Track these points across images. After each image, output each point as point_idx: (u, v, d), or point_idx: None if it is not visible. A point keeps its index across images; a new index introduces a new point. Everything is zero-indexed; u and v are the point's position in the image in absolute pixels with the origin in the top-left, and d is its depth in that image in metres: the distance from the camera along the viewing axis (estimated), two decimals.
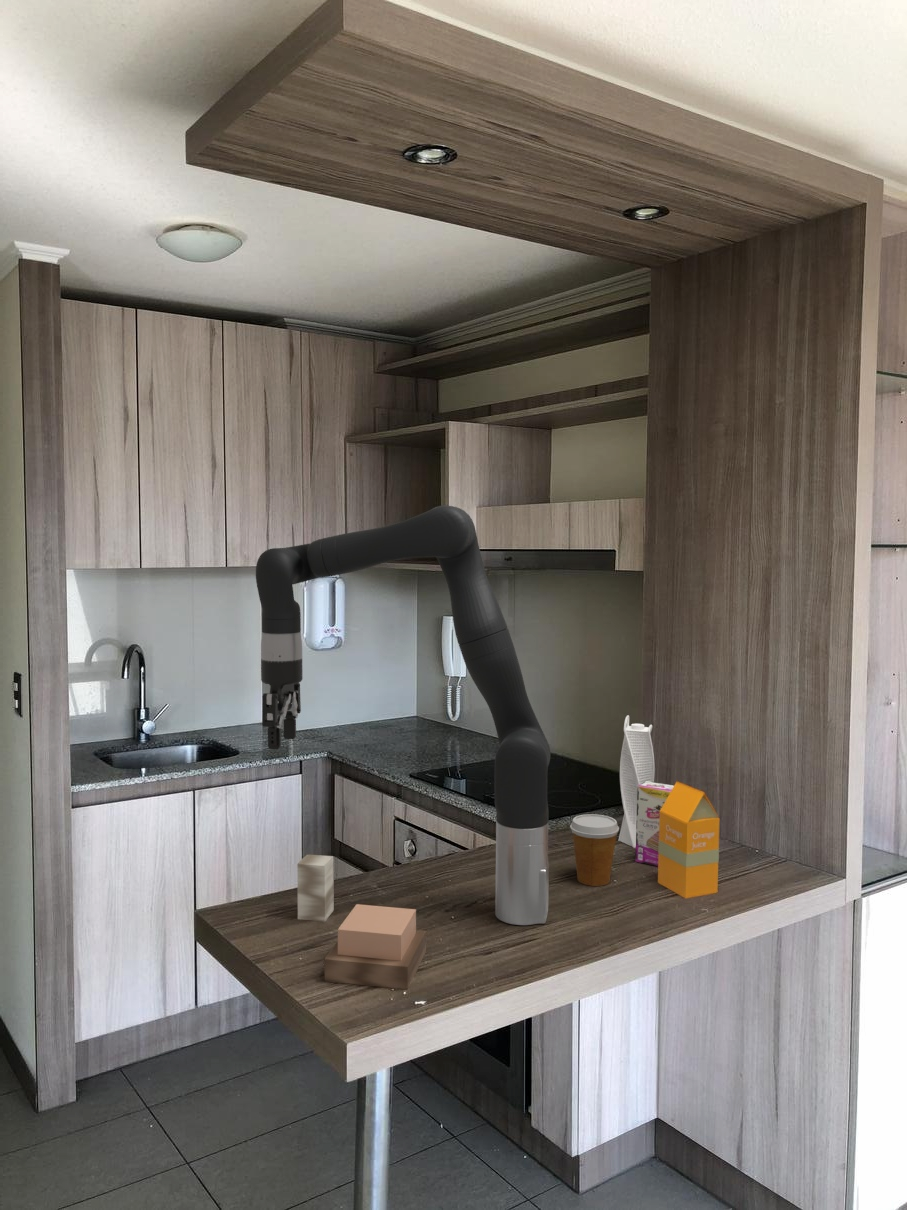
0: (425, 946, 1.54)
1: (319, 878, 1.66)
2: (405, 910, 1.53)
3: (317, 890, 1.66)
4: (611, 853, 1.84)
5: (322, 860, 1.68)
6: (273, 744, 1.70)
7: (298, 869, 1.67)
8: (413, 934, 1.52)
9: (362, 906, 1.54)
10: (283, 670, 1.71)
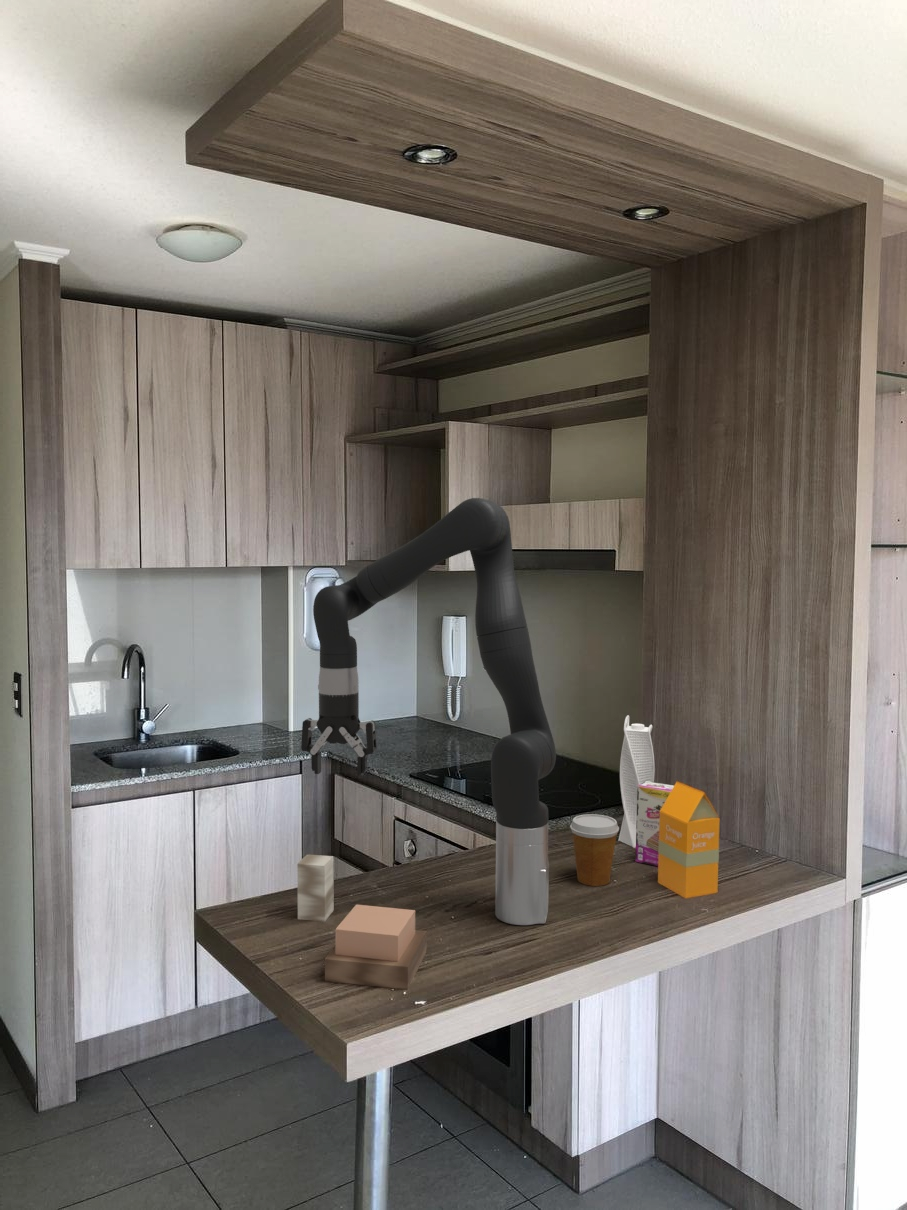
0: (425, 946, 1.54)
1: (319, 878, 1.66)
2: (404, 910, 1.53)
3: (317, 890, 1.66)
4: (611, 853, 1.84)
5: (322, 860, 1.68)
6: (365, 770, 1.80)
7: (298, 869, 1.67)
8: (412, 935, 1.52)
9: (362, 906, 1.54)
10: None
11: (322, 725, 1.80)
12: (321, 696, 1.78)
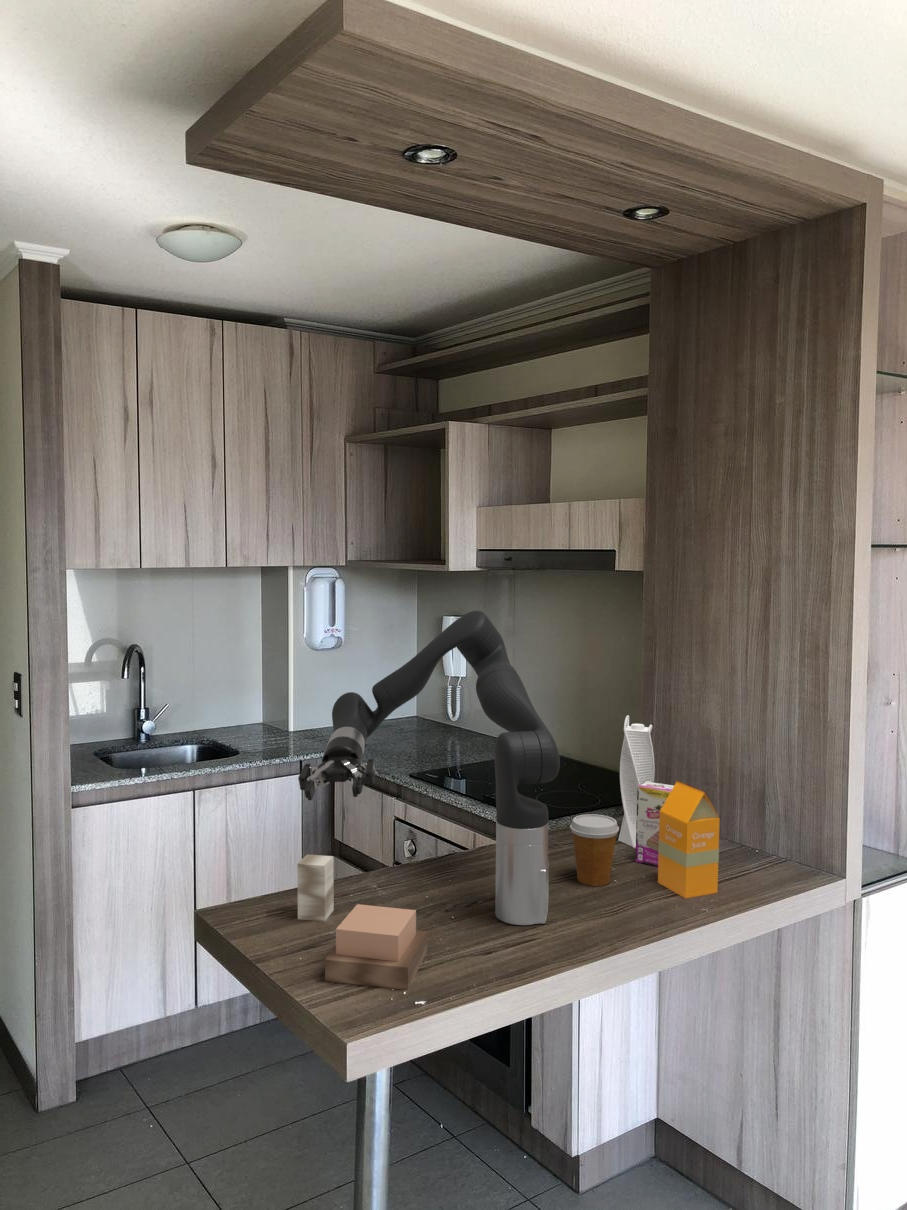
0: (426, 947, 1.54)
1: (319, 878, 1.66)
2: (404, 910, 1.53)
3: (317, 890, 1.66)
4: (611, 853, 1.84)
5: (322, 860, 1.68)
6: (360, 790, 1.76)
7: (298, 869, 1.67)
8: (413, 935, 1.52)
9: (363, 906, 1.54)
10: None
11: (323, 765, 1.84)
12: (330, 742, 1.89)
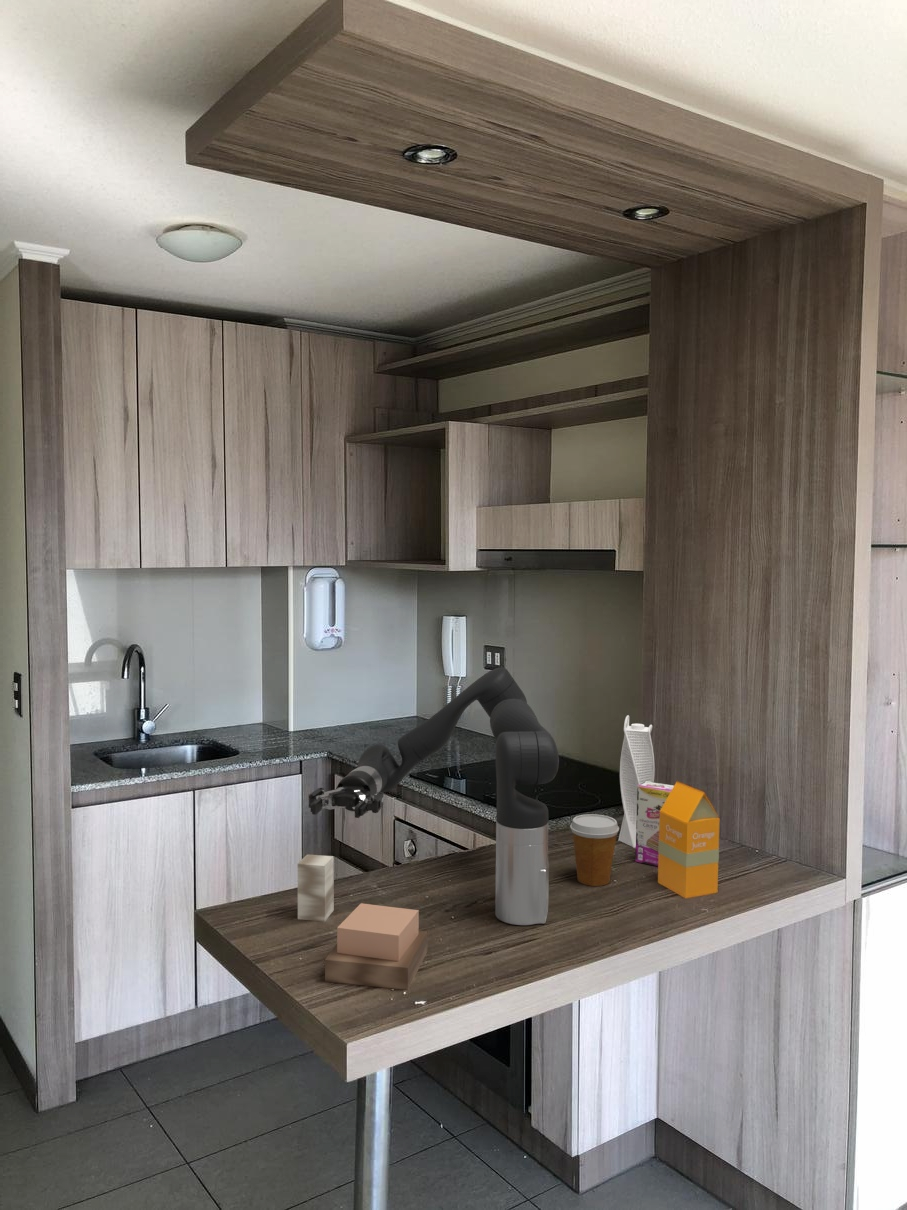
0: (426, 947, 1.54)
1: (319, 878, 1.66)
2: (407, 910, 1.53)
3: (317, 890, 1.66)
4: (611, 853, 1.84)
5: (322, 860, 1.68)
6: (362, 812, 1.81)
7: (298, 869, 1.67)
8: (415, 935, 1.52)
9: (366, 905, 1.55)
10: None
11: None
12: None
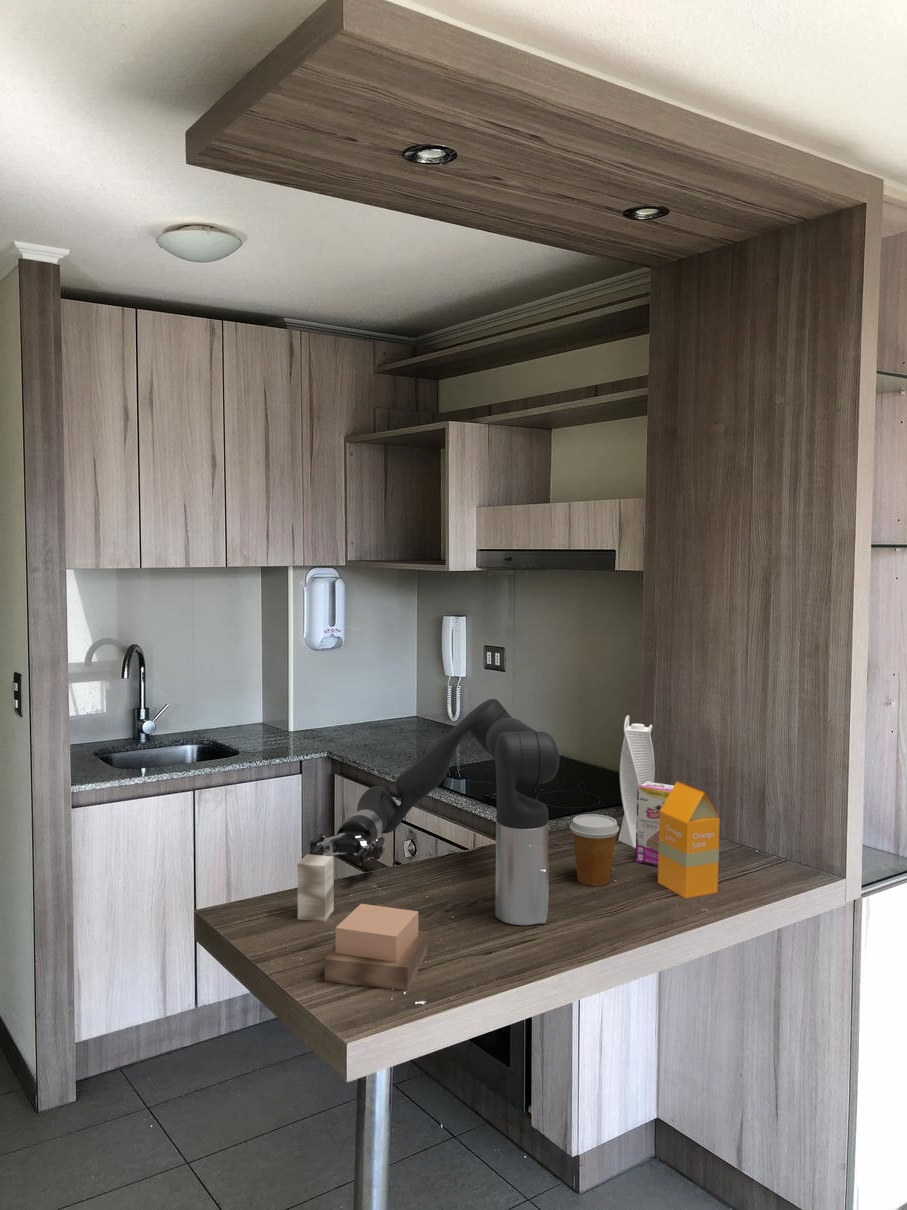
0: (426, 947, 1.54)
1: (319, 878, 1.66)
2: (407, 911, 1.52)
3: (317, 890, 1.66)
4: (611, 853, 1.84)
5: (322, 860, 1.68)
6: (364, 859, 1.81)
7: (298, 869, 1.67)
8: (414, 936, 1.51)
9: (366, 906, 1.54)
10: None
11: None
12: (348, 819, 1.96)
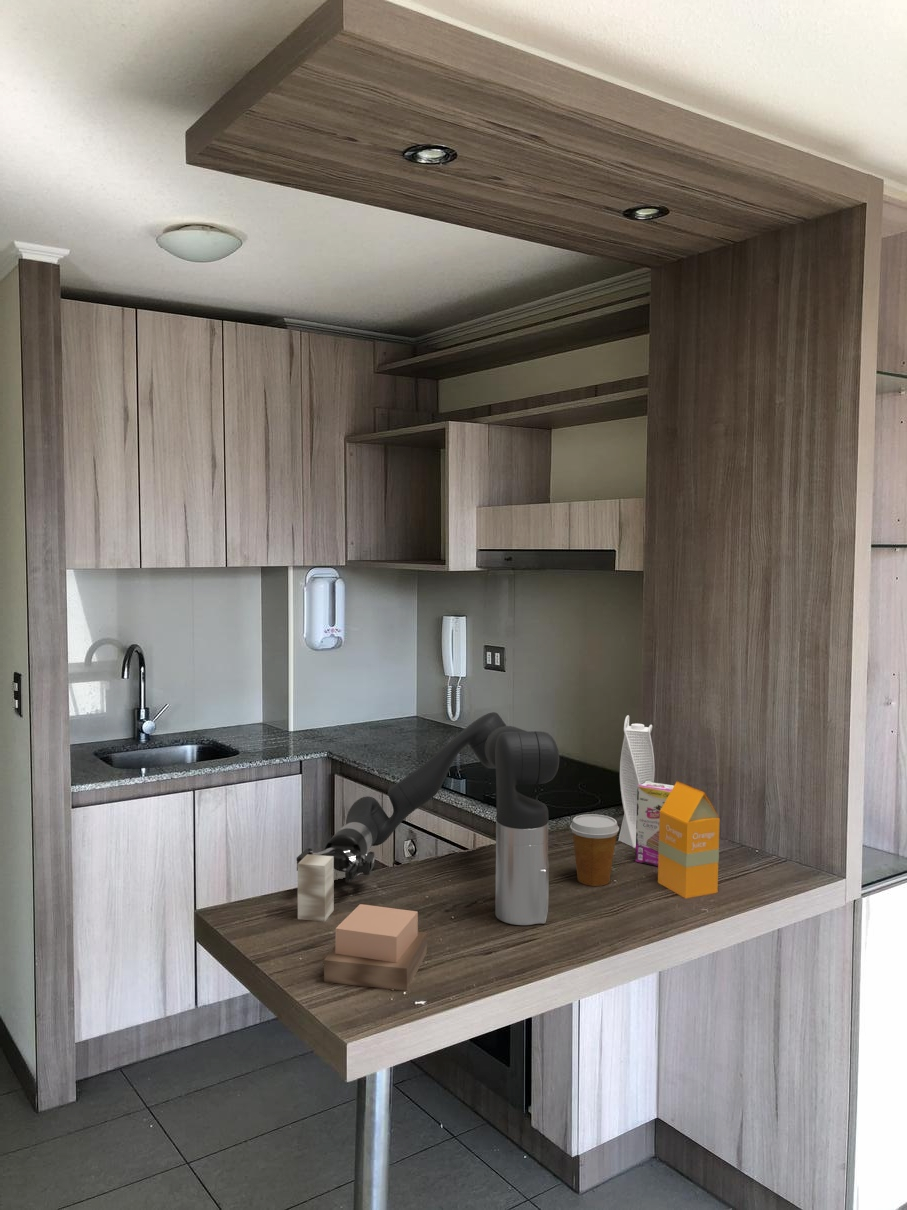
0: (426, 948, 1.54)
1: (319, 878, 1.66)
2: (406, 911, 1.52)
3: (317, 890, 1.66)
4: (611, 853, 1.84)
5: (322, 860, 1.68)
6: (353, 875, 1.74)
7: (298, 869, 1.67)
8: (414, 936, 1.51)
9: (365, 906, 1.54)
10: None
11: (325, 851, 1.84)
12: None
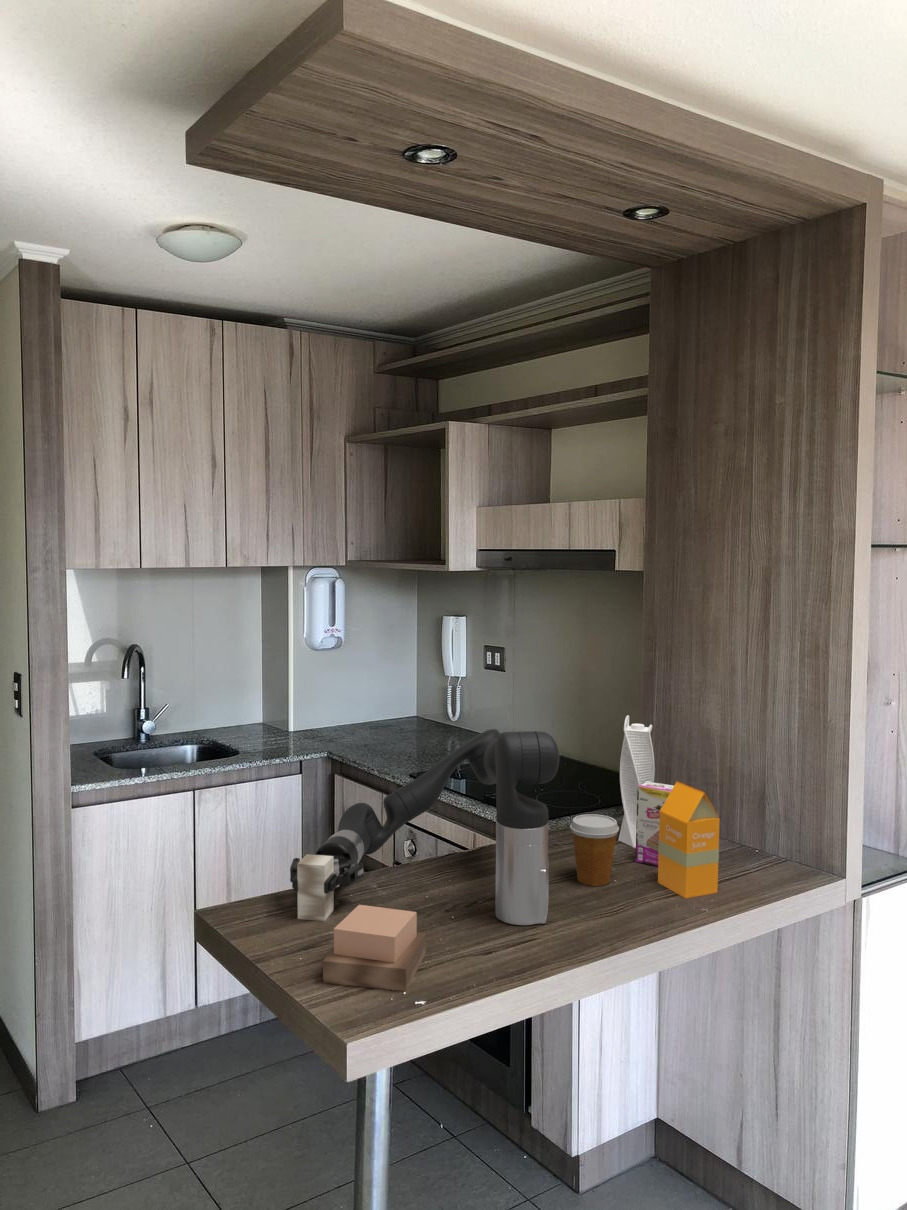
0: (425, 948, 1.54)
1: (319, 878, 1.66)
2: (405, 912, 1.52)
3: (317, 890, 1.66)
4: (611, 853, 1.84)
5: (322, 860, 1.68)
6: (332, 887, 1.66)
7: (298, 869, 1.67)
8: (413, 937, 1.51)
9: (364, 907, 1.54)
10: None
11: None
12: None
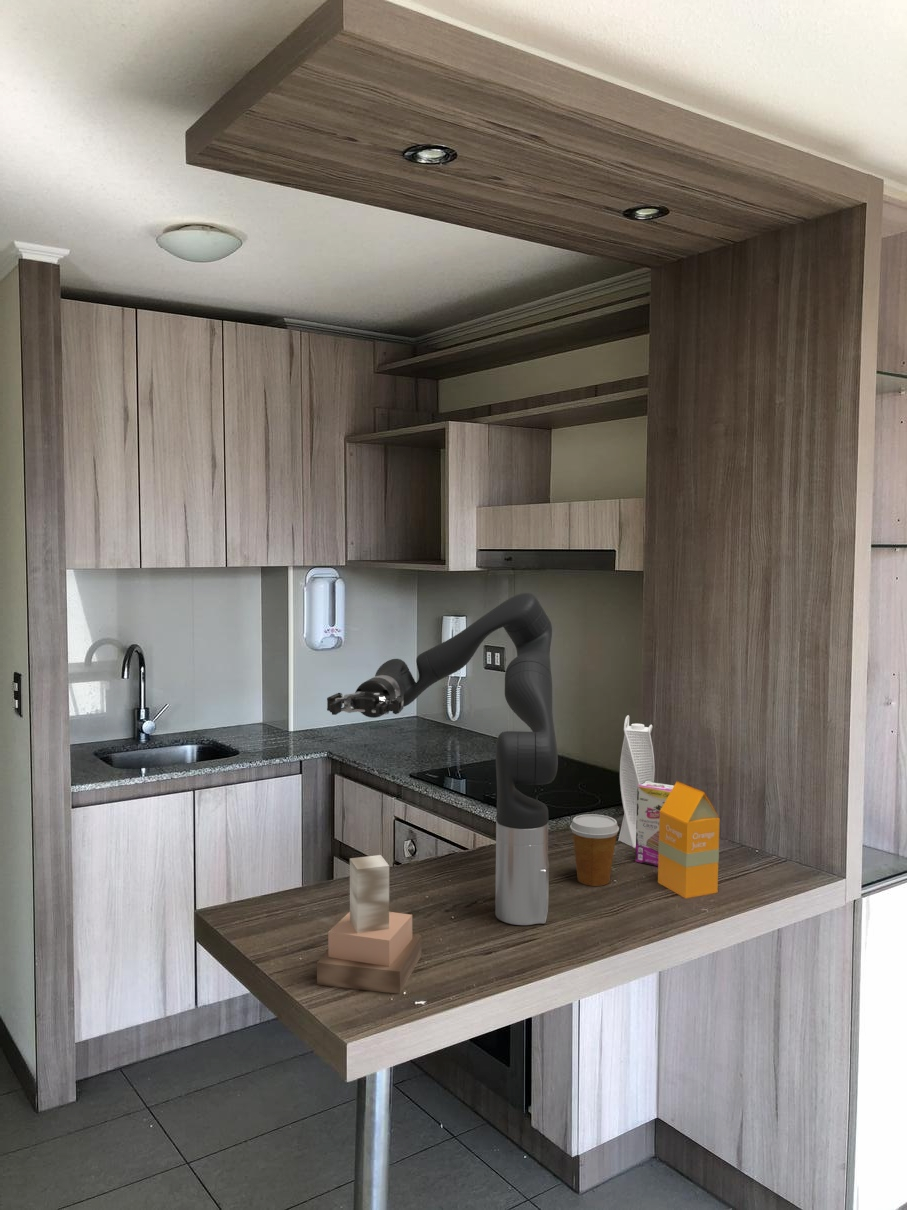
0: (420, 950, 1.53)
1: (383, 881, 1.45)
2: (400, 915, 1.51)
3: (381, 895, 1.45)
4: (611, 853, 1.84)
5: (377, 860, 1.47)
6: (383, 711, 1.77)
7: (358, 875, 1.44)
8: (408, 940, 1.50)
9: None
10: None
11: None
12: None
